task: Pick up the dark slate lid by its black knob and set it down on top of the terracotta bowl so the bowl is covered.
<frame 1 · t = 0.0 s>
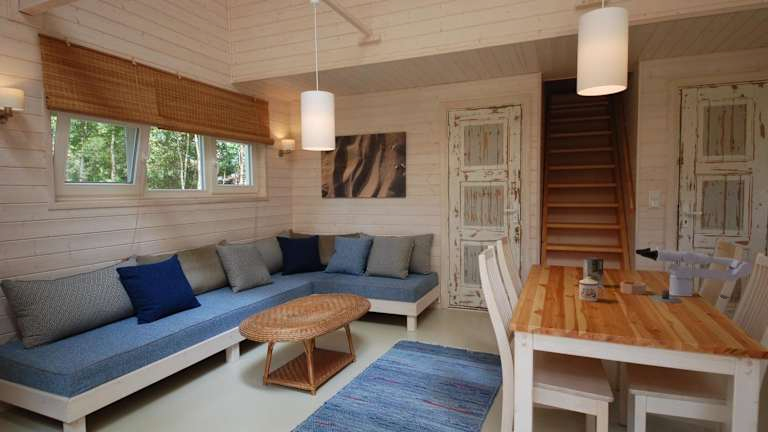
hand: (638, 252, 232), 22 cm above the table, tool horizontal, fingers open, 7 cm apart
lid: (665, 300, 219), on the table
teacup with lid: (591, 300, 221), on the table
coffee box: (592, 286, 251), on the table
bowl: (632, 292, 234), on the table
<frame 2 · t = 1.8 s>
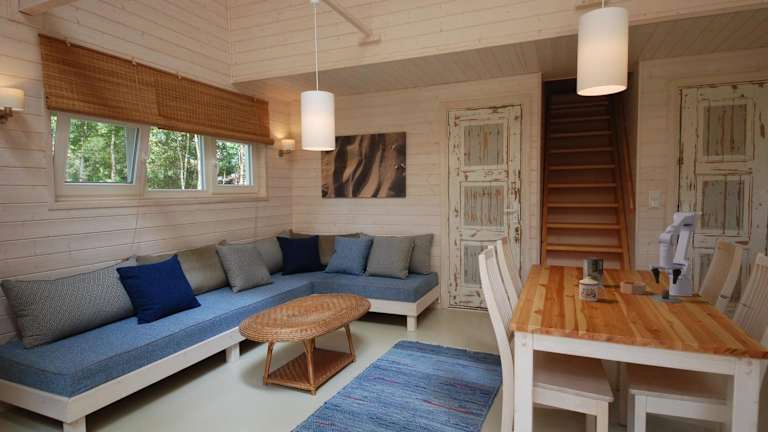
hand: (665, 283, 219), 8 cm above the table, tool pointing down, fingers open, 7 cm apart
nothing on the table moved.
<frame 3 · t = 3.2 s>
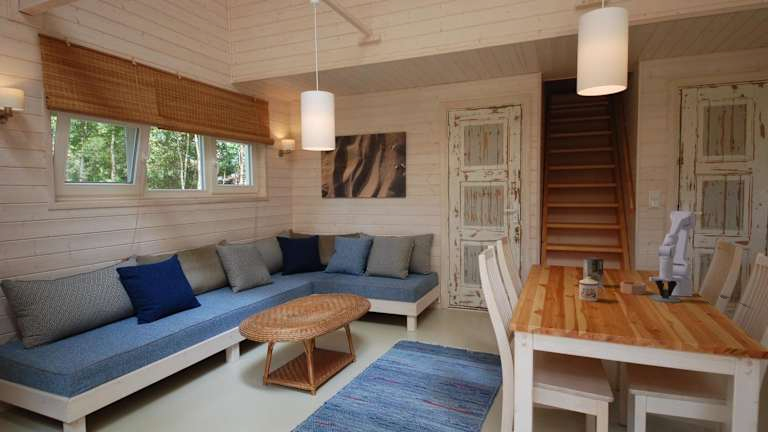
hand: (665, 295, 219), 2 cm above the table, tool pointing down, fingers closed on lid, 3 cm apart
lid: (665, 299, 219), on the table, touching gripper
everything else where it was.
when the fingers open (8 cm above the table, at t = 6.0 s): lid stays where it is, resting on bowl.
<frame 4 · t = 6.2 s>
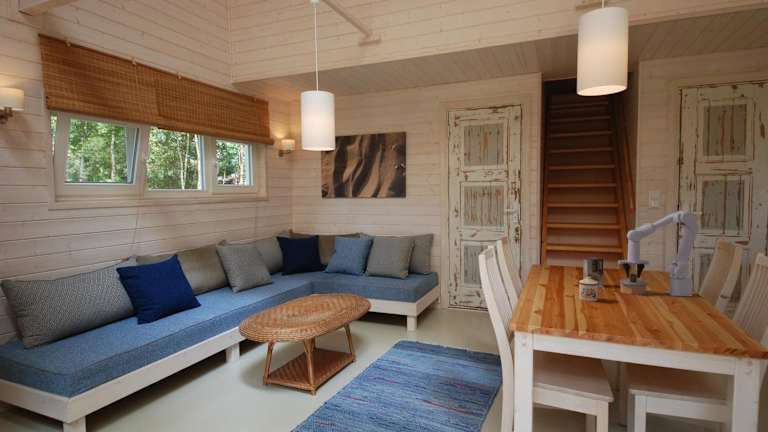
hand: (633, 277, 234), 8 cm above the table, tool pointing down, fingers open, 4 cm apart
lid: (633, 283, 234), point 5 cm above the table, touching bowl
everything else where it was.
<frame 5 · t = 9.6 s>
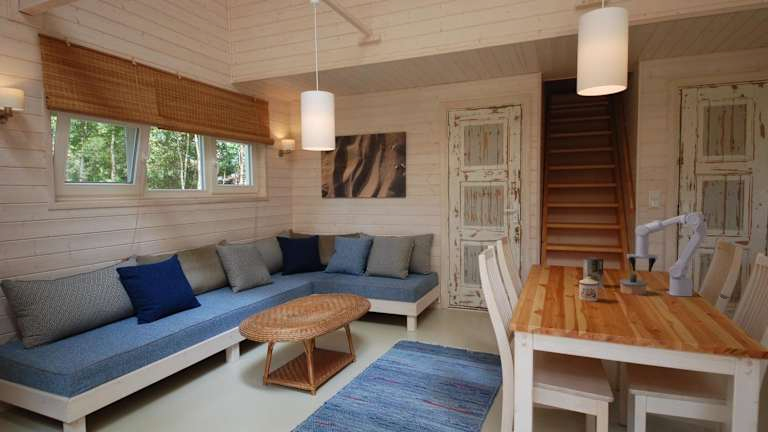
hand: (641, 271, 241), 10 cm above the table, tool pointing down, fingers open, 7 cm apart
nothing on the table moved.
at the end: lid 0.4 cm off-centre on the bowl, point 5.0 cm above the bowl's base; lid tilted 0°; the gripper is holding nothing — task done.
